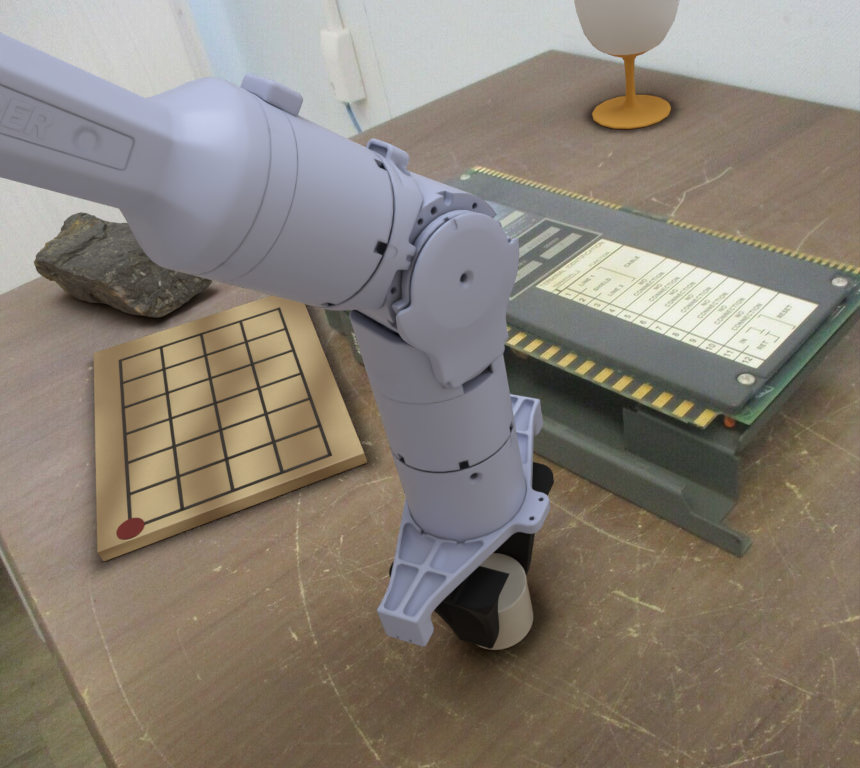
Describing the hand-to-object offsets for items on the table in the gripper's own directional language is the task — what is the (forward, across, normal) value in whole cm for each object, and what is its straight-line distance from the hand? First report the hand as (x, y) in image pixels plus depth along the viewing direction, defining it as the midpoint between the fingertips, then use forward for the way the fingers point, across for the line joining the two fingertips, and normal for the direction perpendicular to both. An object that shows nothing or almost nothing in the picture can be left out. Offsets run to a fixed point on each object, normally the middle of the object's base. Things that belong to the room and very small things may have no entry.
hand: (494, 604), depth 46 cm
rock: (+2, +22, +47) cm, 52 cm away
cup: (+2, +67, +12) cm, 68 cm away
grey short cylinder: (+1, 0, 0) cm, 1 cm away
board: (+1, +11, +29) cm, 31 cm away
